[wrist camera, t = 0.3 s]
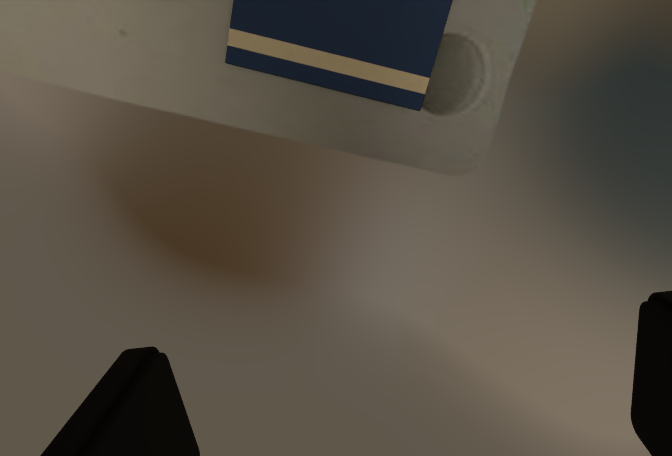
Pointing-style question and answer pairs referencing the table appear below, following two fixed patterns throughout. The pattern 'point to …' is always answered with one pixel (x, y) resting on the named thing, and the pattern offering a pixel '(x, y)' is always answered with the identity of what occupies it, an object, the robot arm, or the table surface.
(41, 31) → the table surface
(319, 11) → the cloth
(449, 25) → the table surface
